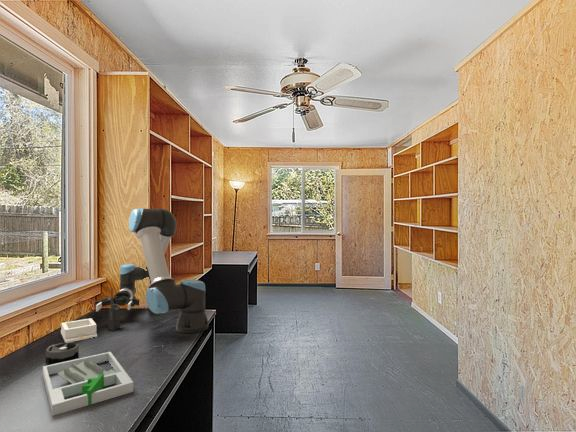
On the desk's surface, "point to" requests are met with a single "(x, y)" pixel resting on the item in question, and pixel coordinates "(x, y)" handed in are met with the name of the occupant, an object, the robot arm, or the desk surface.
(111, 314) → the walkie-talkie
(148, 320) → the desk surface
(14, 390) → the desk surface
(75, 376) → the metal bracket
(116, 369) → the desk organiser
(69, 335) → the charging cradle
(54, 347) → the cpu cooler
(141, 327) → the desk surface
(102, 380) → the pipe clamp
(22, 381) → the desk surface
